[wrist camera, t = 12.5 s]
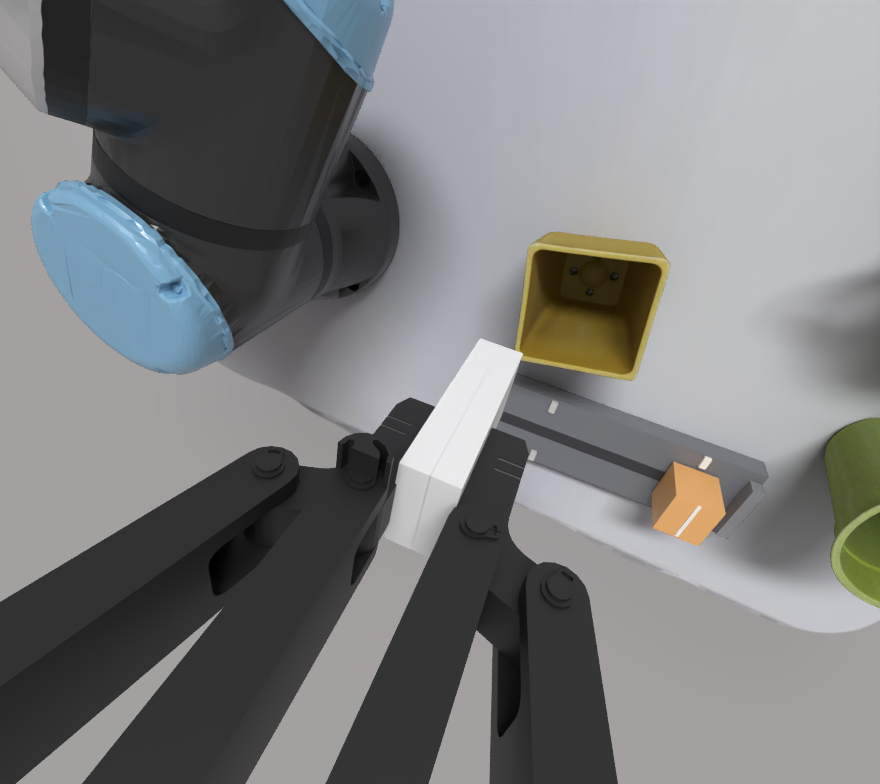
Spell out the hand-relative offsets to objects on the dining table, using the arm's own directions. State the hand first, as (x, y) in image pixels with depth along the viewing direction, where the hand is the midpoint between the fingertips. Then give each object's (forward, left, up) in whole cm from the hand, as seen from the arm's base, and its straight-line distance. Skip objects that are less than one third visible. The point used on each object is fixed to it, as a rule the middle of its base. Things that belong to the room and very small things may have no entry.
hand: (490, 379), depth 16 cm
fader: (+18, -19, -24) cm, 36 cm away
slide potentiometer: (+10, -20, -26) cm, 34 cm away
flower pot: (+3, -4, -27) cm, 27 cm away
